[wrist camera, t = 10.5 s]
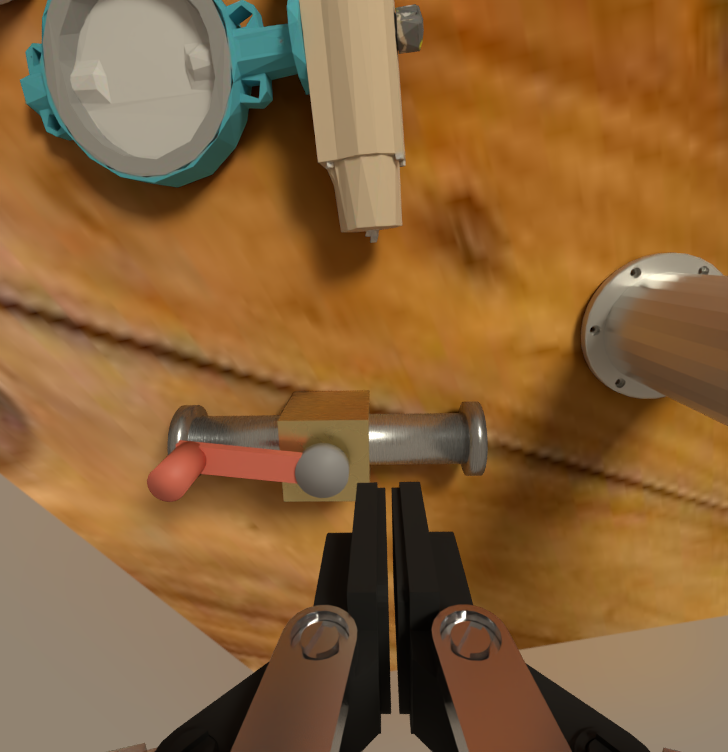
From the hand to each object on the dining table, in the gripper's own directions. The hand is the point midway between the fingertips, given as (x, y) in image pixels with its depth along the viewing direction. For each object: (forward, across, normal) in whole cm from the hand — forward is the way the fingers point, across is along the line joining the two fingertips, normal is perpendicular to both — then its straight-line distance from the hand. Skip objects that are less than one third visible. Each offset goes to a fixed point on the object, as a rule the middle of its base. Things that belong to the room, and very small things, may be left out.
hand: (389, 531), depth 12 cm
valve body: (+29, +5, +9) cm, 30 cm away
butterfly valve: (+29, +12, -21) cm, 38 cm away
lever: (+20, +9, +8) cm, 24 cm away
